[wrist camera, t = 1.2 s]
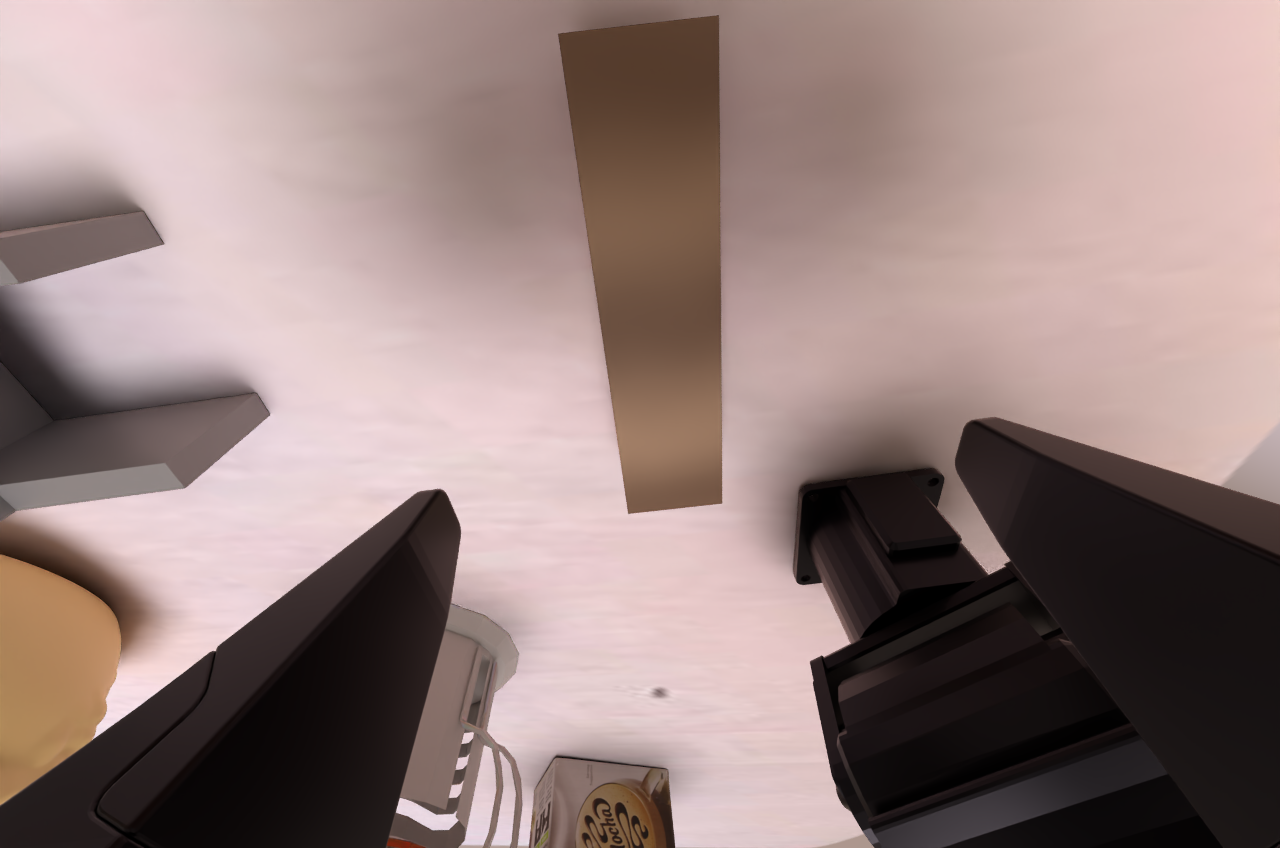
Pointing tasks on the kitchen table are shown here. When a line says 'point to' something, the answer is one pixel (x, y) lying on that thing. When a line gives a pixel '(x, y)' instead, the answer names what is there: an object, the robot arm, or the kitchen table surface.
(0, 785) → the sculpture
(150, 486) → the endcap
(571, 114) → the slat
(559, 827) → the coffee box
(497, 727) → the kitchen table surface
